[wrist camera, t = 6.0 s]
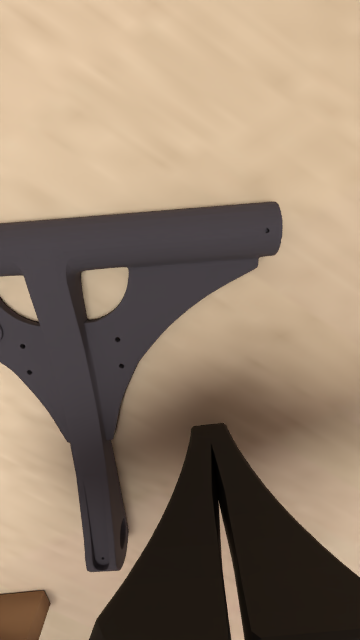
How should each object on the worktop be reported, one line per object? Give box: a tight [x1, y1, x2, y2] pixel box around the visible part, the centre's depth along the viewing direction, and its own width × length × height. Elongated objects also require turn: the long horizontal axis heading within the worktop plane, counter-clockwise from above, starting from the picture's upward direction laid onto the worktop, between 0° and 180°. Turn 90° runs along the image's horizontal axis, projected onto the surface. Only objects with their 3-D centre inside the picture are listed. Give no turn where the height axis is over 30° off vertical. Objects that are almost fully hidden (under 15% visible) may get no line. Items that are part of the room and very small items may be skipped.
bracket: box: [0, 202, 282, 572], centre depth 11 cm, size 14×15×3 cm
